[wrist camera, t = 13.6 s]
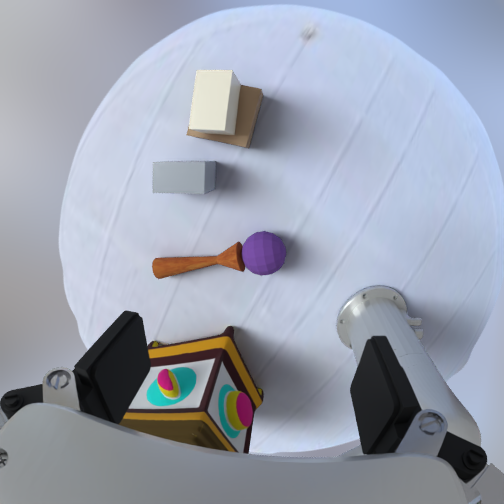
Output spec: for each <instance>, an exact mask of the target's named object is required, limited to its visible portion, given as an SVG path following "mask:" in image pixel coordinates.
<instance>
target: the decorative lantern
mask: <svg viewBox="0 0 504 504" xmlns="http://www.w3.org/2000/svg"><path fill="white" fill-rule="evenodd" d="M147 347H148V352H149V357H150V362H151V369H150V372H149V373H148V375H147V377H146V378H145V380H144V382H143V384H142V385H141V387H140V389H139V391H138V392H137V394H136V396H135V398H134V399H133V401H132V403H131V405H130V406H129V408H128V410H127V412H126V413H125V415H124V417H123V419H122V420H121V422H120V423H119V424H118V425H121V426H124V427H127V428H130V429H133V430H136V431H139V432H143V433H146V434H149V435H153V436H156V437H160V438H164V439H168V440H172V441H176V442H181V443H185V444H190V445H194V446H200V447H205V448H210V449H216V450H223V451H229V452H237V453H245V454H248V453H249V446H250V439H251V432H252V425H253V418H254V412H255V410H256V409H257V408H258V407H259V406H260V405H261V404H262V402H263V397H264V394H263V390H262V389H260V388H258V389H257V387H256V385H255V383H254V381H253V379H252V377H251V375H250V373H249V371H248V369H247V367H246V365H245V363H244V361H243V359H242V357H241V354H240V352H239V350H238V348H237V346H236V344H235V341H234V329H233V327H232V326H228V327H227V328H226V330H225V331H224V332H223V333H222V334H220V335H217V336H212V337H207V338H202V339H197V340H192V341H186V342H181V343H175V344H169V345H163V346H158V343H157V342H156V341H152V342H151V343H150V344H149V345H148V346H147Z"/></svg>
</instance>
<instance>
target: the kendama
mask: <svg viewBox="0 0 504 504" xmlns="http://www.w3.org/2000/svg"><path fill="white" fill-rule="evenodd" d="M285 257H286V248H285V246H284V244H283V242H282V240H281V239H280V238H279V237H277V236H276V235H275V234H273V233H270V232H266V231H263V232H256V233H254V234H253V235H251V236H250V237H248V239H247V240H246V242H245V243H244V245H243V246H242V244H241V243H240V242H237V243H236V244H234V245H233V246H231V247H230V248H228V249H227V250H225V251H224V252H223V253H221V254H220V255H218V256H209V257H173V258H155V259H154V261H153V265H152V268H153V273H154V275H155V277H156V278H158V279H161V278H165V277H169V276H173V275H177V274H180V273H184V272H188V271H192V270H196V269H200V268H204V267H208V266H212V265H215V264H220V265H223V266H226V267H229V268H233V269H236V270H239V271H242V272H244V270H245V266H246V267H247V268H248V269H249V270H250V271H251V272H252V273H255V274H258V275H269V274H273V273H274V272H276V271H278V270H279V269H280V268H281V266H282V265H283V264H284V261H285Z"/></svg>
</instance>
